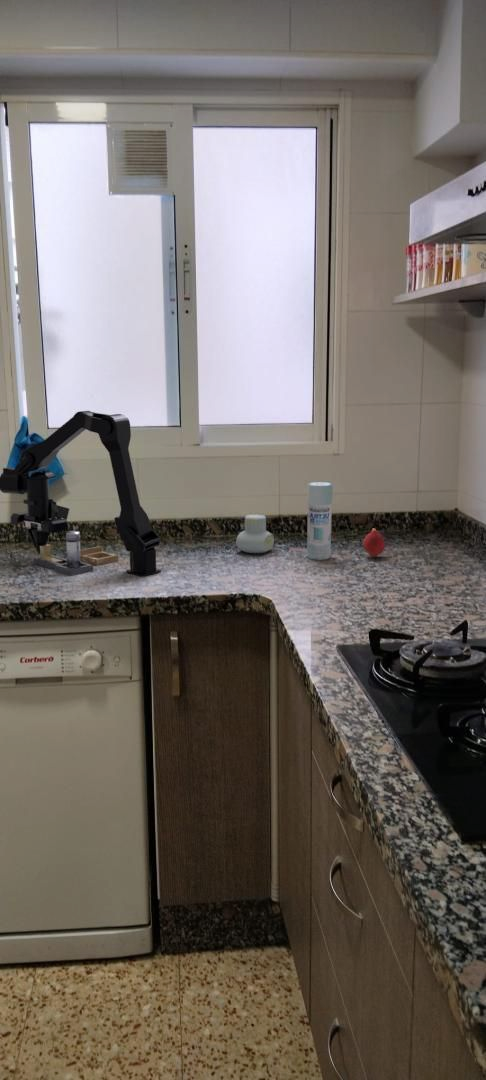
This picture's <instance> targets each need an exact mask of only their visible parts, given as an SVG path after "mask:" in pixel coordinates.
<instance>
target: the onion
mask: <svg viewBox="0 0 486 1080" xmlns="http://www.w3.org/2000/svg"><path fill="white" fill-rule="evenodd" d="M362 543H363V546H362V547H363V549H364V551H365V552H366V553H367V554H368V555H369V556H370V557H371V558H376V557H378V556H379V555H380V554H381V553H384V551H385V548H386V541H385V538H384V536H383V535H382V534H381V533H380V532H378V531H377V529H376V528H372V529H371V532H369V533H368V534H367V535H366V536H365V537H364V540H363V542H362Z"/></svg>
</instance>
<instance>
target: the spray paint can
mask: <svg viewBox="0 0 486 1080" xmlns="http://www.w3.org/2000/svg"><path fill="white" fill-rule="evenodd" d="M332 505H333V483H330V482H325V481H324V482H323V481H320V482H319V481H317V482H315V481H314V482H309V483H308V484H307V538H306V539H307V540H306V541H307V545H306V550H307V551H306V555H307V556H306V557H307V558H308V559H310V560H319V561H321V560H328V559H330V557H331V547H332V545H331V542H332V541H331V540H332V510H333V509H332V508H333V507H332Z"/></svg>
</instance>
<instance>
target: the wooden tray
mask: <svg viewBox="0 0 486 1080" xmlns="http://www.w3.org/2000/svg"><path fill="white" fill-rule="evenodd" d="M102 548H103V547H102V546H100V545H98V546H97V545H96V546H93V547H89V548H88V547H87V548H83V549H80V554H81V562H84V563H88V564H91V565H93V566H99V565H100V566H101V565H104V564H105V565H106V564H109V563H114V562H119V555H118V554H115V553H110V552H106V551H103V550H102Z"/></svg>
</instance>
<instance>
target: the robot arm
mask: <svg viewBox="0 0 486 1080" xmlns="http://www.w3.org/2000/svg"><path fill="white" fill-rule="evenodd" d="M84 431H89V432H91V433H95V434H98V437H99V439H100V442H101V444H102V445H103V447H104V448H105V449H106V451H108V455H109V459H110V463H111V469H112V473H113V478H114V482H115V487H116V491H117V496H118V502H119V506H120V507H119V508H120V511H119V516H116V517H114V519H113V520H114V523H115V526H116V535H119V537H120V540H121V541H123V544H124V547H125V550H126V552H129V567H130V568H129V569H125V573H128V574H131V575H135V576H139V577H145V576H148V575H149V576H150V575H153V574H159V573H161V572H162V570H161V569H159V568H157V549H156V548H157V547H159V546H160V543H161V540H162V538H161V537H160V535H159V534H158V533H157V532H156V531H155V530H154V529H153V528H152V524H151V522H150V517H149V516H148V514H147V512H146V511H145V510H144V509H143V507H142V506H141V503H140V498H139V493H138V490H137V485H136V480H135V479H136V478H135V474H134V471H133V466H132V460H131V456H130V451H129V446H130V442H131V437H132V433H131V432H132V431H131V423H130V419H129V418H128V417H127V416H126V415H125V414H121V413H115V414H107V413H99V412H94V411H91V410H82V411H77V412H75V413H74V415H73V416H72V417H71V418H69V419H68V420H67V421H66V422H65V423H63V424H62V425H61V426H60V427H58V428H57V429H56V430H55V431H54V432H52V434H50V435H49V436H48V437H47V438H45V439H44V440H42V441H39V442H37V443H35V444H32V445H31V446H28V447H26V448H25V449H23V450H21V453H20V459H19V460H18V462H17V464H16V466H15V467H11V466H9V467H2V473H1V475H0V492H1V493H3V494H14V495H25V494H26V499H25V498H24V499H23V504H26V508H27V509H26V511H20V512H13V513H12V514H11V516H10V524H11V525H15V526H18V525H19V524H20V523H25V527H23V528H22V529H23V531H24V532H25V533H26V534H27V536H28V537H29V539H30V541H31V543H32V545H33V546H34V548H35V550H36V552H37V553H38V555H40V545H46V544H47V542H48V539H49V536H50V534H51V533H58V532H63V531H70V530H69V529H70V526H69V524H70V523H69V521H68V517H69V513H70V508H69V507H64V506H61V505H59V504H57V502H56V501H54V499H53V498H50V490H49V486H50V485H49V480H51V479H56V475H55V473H53V472H51V470H50V469H49V468H48V467H49V466H50V465H51V464H52V463H53V462H54V460H56V457H57V455H58V453H59V452H60V451H61V450H62V449H63V448H65V447H66V446H67V445H68V444H70V443H71V442H72V441H73V440H74V439H76V438H77V437H78V436H80V435H81V434H82V433H84ZM47 468H48V469H47ZM41 469H43V471H39V470H41Z"/></svg>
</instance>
